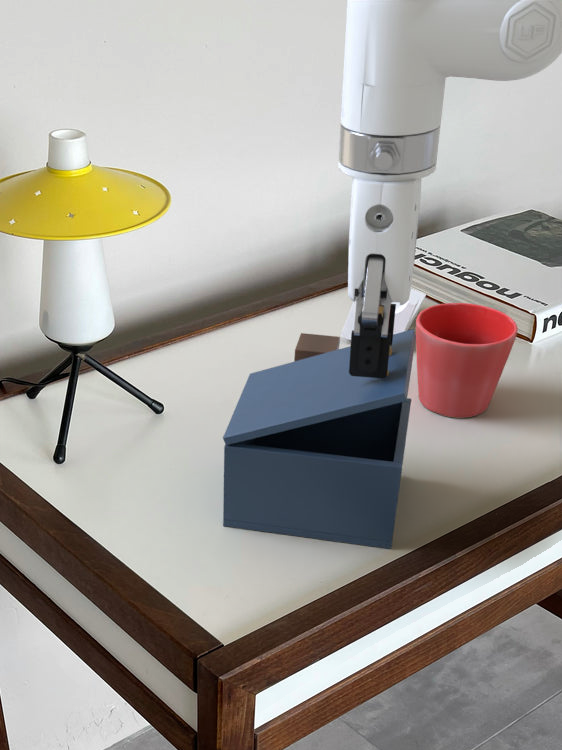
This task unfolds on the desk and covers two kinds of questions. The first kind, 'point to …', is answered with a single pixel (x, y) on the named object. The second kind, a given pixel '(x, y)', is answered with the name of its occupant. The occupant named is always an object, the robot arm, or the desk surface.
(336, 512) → the chest
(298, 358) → the block
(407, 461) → the desk surface
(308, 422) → the lid
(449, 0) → the robot arm
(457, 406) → the flower pot
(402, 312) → the bracket
